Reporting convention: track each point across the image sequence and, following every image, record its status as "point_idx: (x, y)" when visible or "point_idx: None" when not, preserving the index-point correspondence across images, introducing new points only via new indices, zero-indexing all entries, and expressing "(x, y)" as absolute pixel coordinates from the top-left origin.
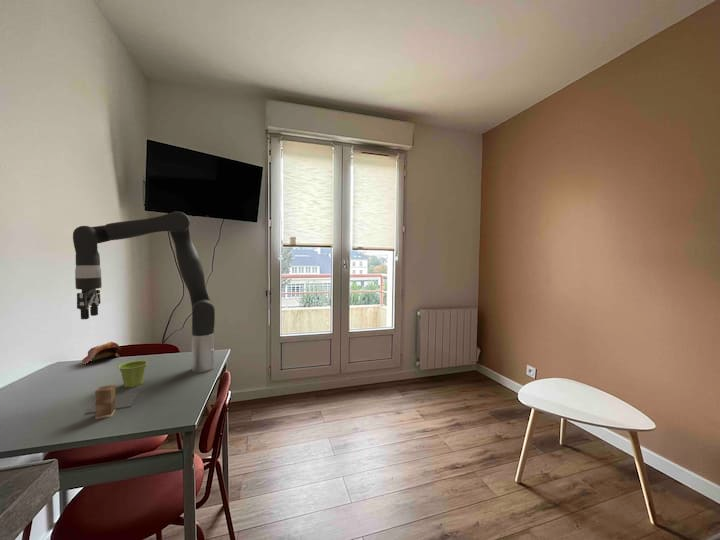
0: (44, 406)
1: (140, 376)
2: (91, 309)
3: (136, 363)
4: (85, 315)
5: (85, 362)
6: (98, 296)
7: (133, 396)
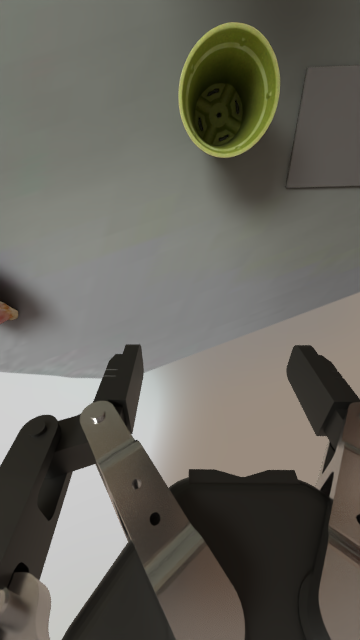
0: (263, 286)
1: (244, 73)
2: (136, 406)
3: (184, 99)
4: (336, 371)
5: (6, 314)
6: (15, 534)
7: (338, 78)
